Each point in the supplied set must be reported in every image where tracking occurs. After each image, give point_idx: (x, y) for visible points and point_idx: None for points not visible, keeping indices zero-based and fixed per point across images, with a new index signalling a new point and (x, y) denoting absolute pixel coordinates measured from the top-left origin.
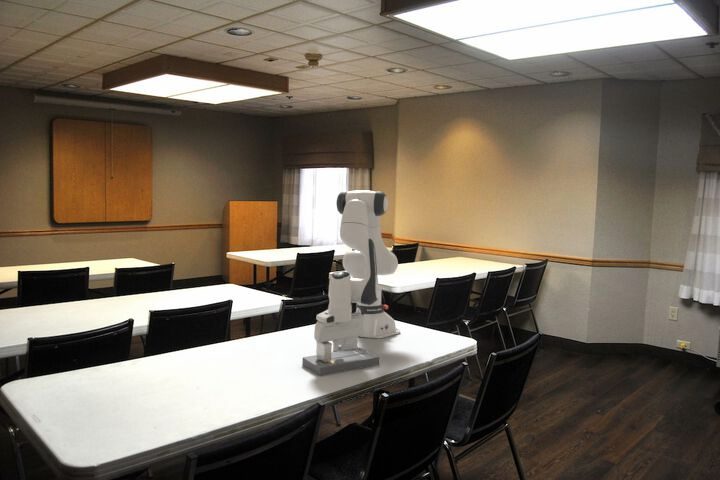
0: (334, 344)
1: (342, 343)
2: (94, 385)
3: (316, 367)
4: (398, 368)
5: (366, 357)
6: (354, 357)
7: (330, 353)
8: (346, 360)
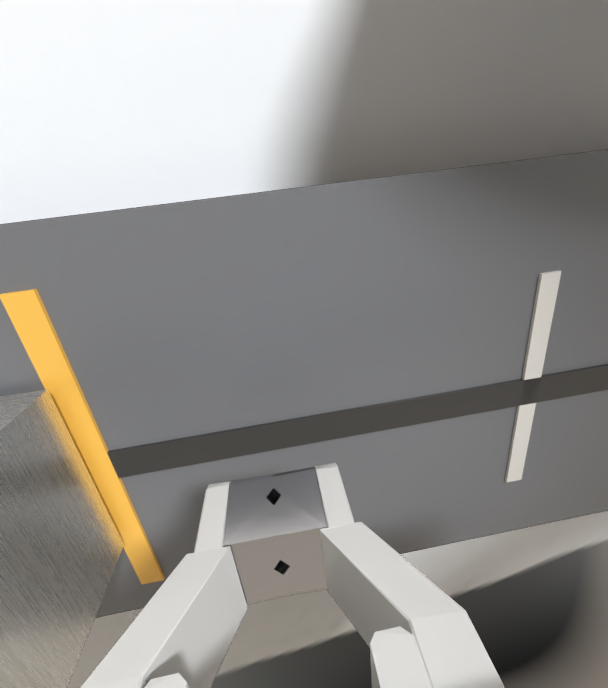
0: (163, 605)
1: (354, 604)
2: None
3: None
4: (589, 539)
5: (515, 496)
6: (419, 472)
7: (66, 653)
8: None
